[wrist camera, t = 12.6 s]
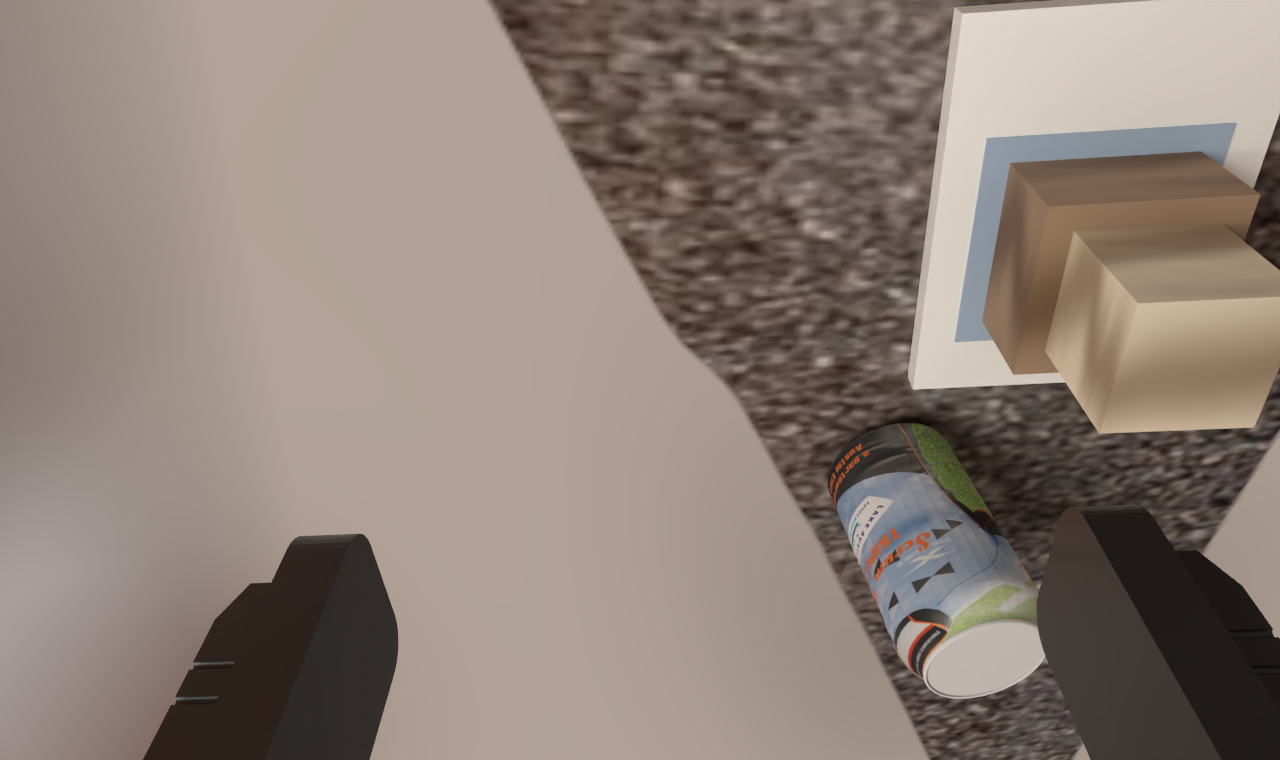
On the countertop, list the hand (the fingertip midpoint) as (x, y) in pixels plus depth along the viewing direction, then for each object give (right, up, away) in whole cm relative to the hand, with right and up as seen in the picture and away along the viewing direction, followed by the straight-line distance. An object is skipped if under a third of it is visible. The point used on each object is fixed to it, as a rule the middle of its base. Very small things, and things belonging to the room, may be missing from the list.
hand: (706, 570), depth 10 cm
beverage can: (+12, -2, +33) cm, 35 cm away
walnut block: (+17, +8, +25) cm, 31 cm away
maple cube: (+17, +6, +21) cm, 28 cm away
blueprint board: (+17, +9, +25) cm, 32 cm away
